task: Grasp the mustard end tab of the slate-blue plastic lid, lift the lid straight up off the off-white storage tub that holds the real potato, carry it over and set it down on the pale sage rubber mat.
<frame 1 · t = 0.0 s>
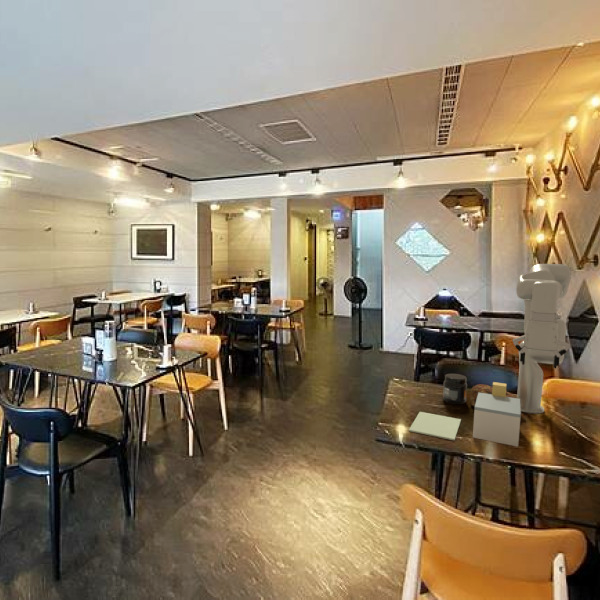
hand: (538, 365, 144), 31 cm above the table, fingers open, 9 cm apart
tub: (495, 432, 162), on the table
lid: (497, 405, 160), point 11 cm above the table, touching tub
mat: (435, 425, 167), on the table
potato: (495, 433, 162), resting in tub
bread: (494, 410, 186), on the table
supplement container: (454, 401, 196), on the table
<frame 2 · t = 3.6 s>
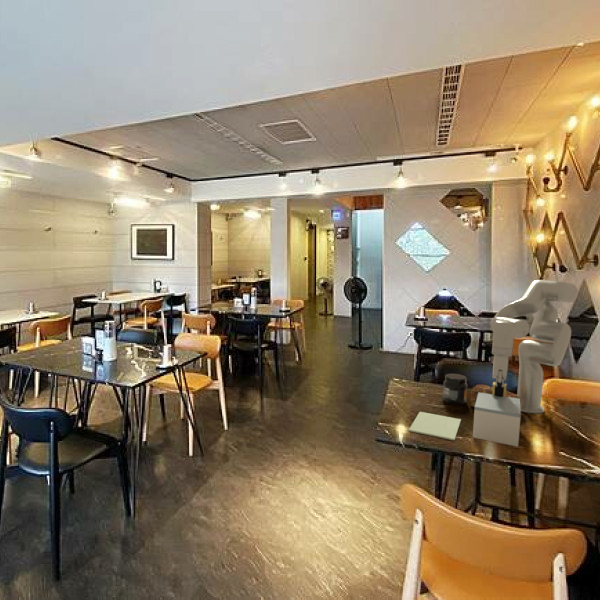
hand: (498, 393, 169), 13 cm above the table, fingers closed on lid, 4 cm apart
lid: (497, 405, 160), point 11 cm above the table, touching gripper, tub
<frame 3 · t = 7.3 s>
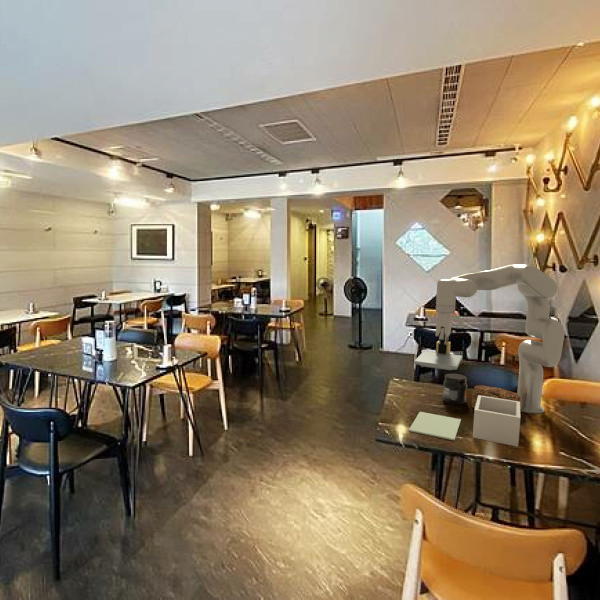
hand: (443, 351, 172), 29 cm above the table, fingers closed on lid, 4 cm apart
lid: (438, 361, 163), point 27 cm above the table, touching gripper
when the fingers open (5 cm above the table, at t = 11.3 s): lid drops 1 cm, resting on mat.
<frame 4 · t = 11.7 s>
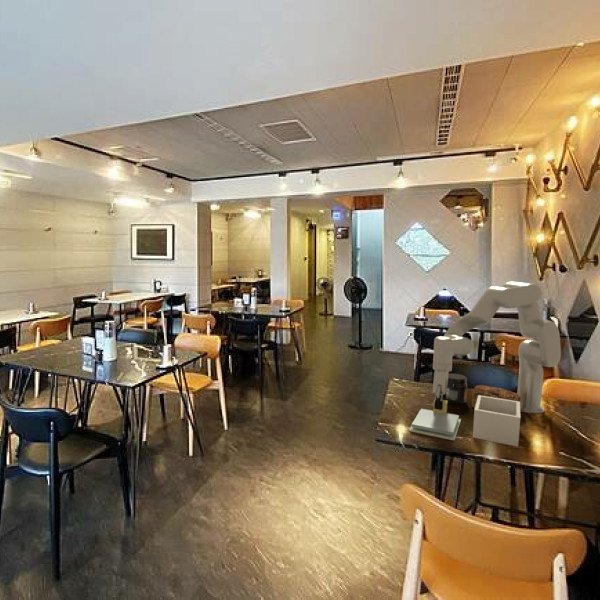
hand: (440, 405, 175), 5 cm above the table, fingers open, 8 cm apart
lid: (435, 422, 167), point 2 cm above the table, touching mat
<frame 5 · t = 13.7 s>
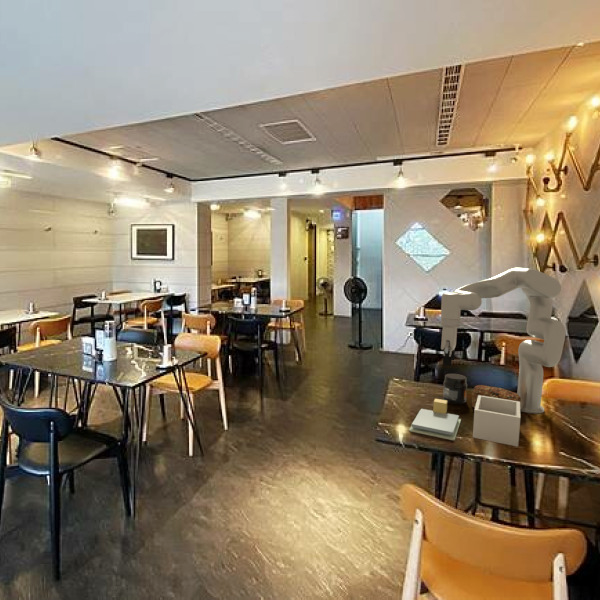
hand: (448, 362, 173), 24 cm above the table, fingers open, 9 cm apart
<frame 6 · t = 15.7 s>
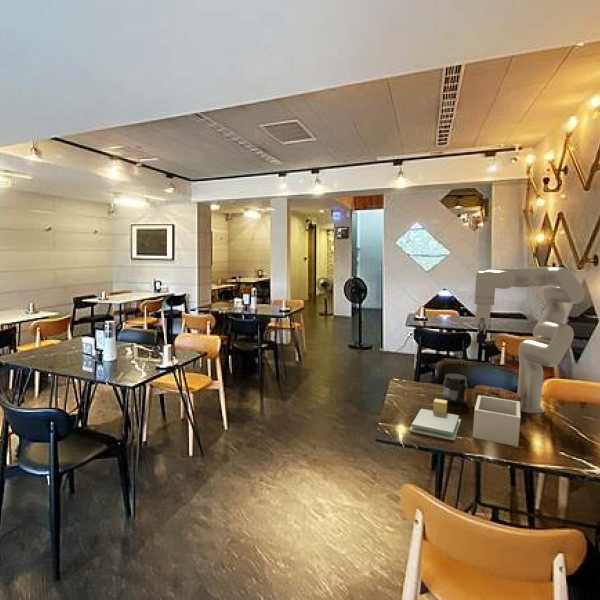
hand: (481, 341, 173), 33 cm above the table, fingers open, 9 cm apart
at the end: lid inside the target area on the mat (0.6 cm from its centre), point 1.6 cm above the mat's base; lid touching mat; lid tilted 0° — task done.
